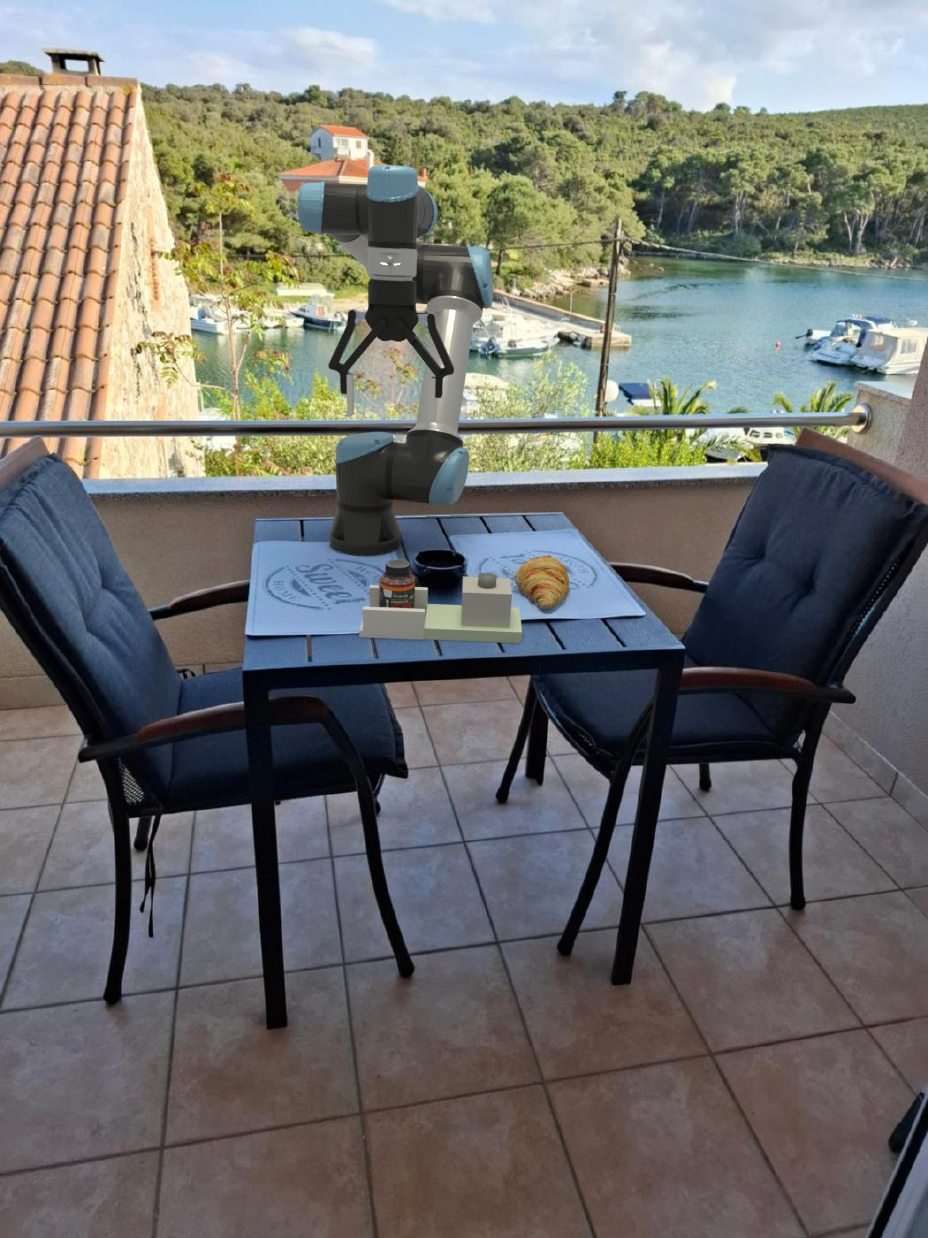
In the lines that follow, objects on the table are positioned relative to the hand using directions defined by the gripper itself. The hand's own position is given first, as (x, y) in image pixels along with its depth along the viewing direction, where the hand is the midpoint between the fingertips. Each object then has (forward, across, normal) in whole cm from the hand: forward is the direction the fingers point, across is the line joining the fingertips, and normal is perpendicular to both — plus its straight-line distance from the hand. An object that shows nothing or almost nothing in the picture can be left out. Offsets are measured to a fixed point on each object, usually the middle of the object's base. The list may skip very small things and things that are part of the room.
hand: (391, 416), depth 138 cm
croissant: (+33, +28, +6) cm, 44 cm away
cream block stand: (+33, +10, -12) cm, 36 cm away
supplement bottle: (+33, +2, -12) cm, 35 cm away
